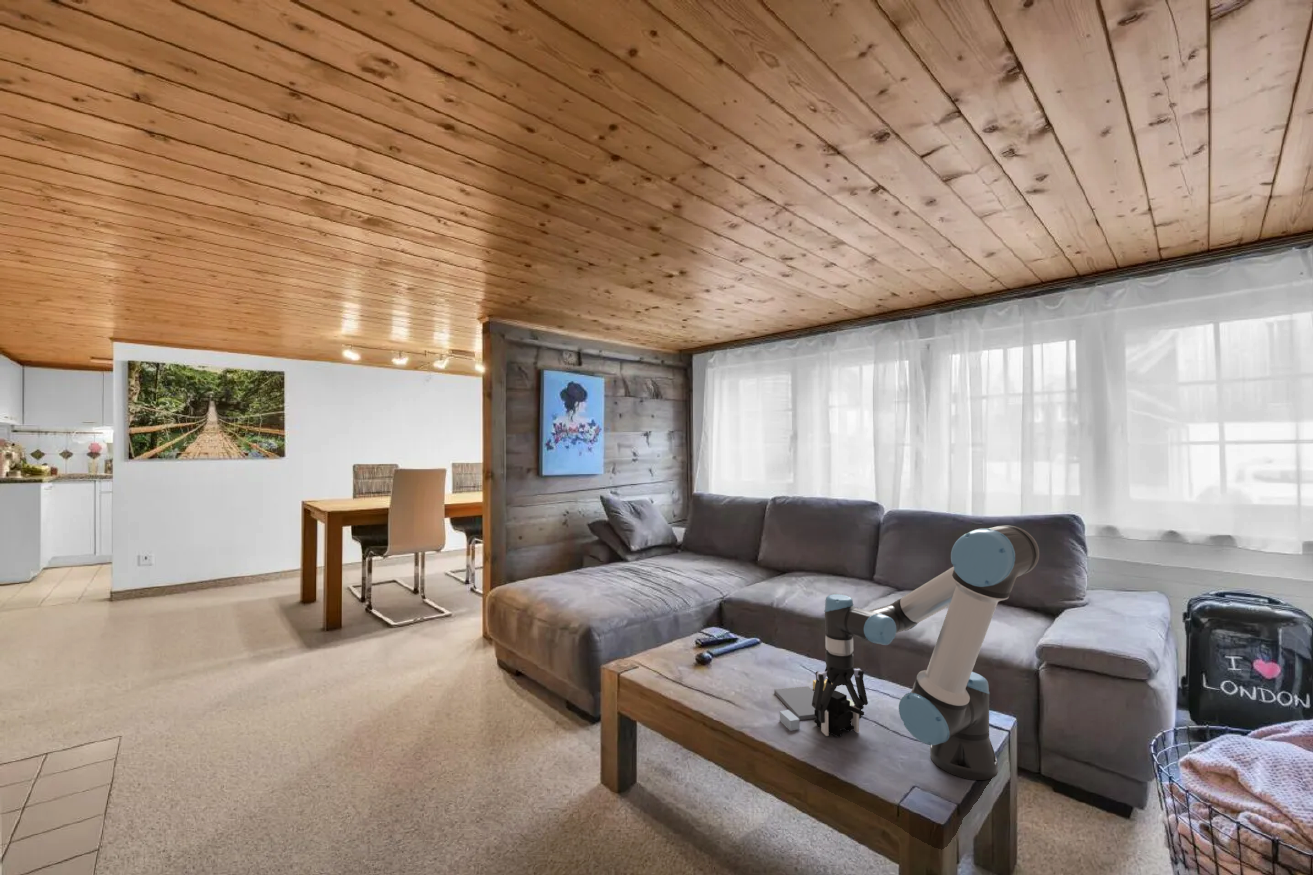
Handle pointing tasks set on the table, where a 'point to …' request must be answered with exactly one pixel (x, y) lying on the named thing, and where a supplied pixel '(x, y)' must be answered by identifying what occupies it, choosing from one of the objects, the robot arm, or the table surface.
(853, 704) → the sage brick
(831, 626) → the robot arm
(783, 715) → the dusty blue brick
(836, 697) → the toy
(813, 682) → the mustard brick
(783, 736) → the table surface
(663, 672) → the table surface
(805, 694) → the felt pad
